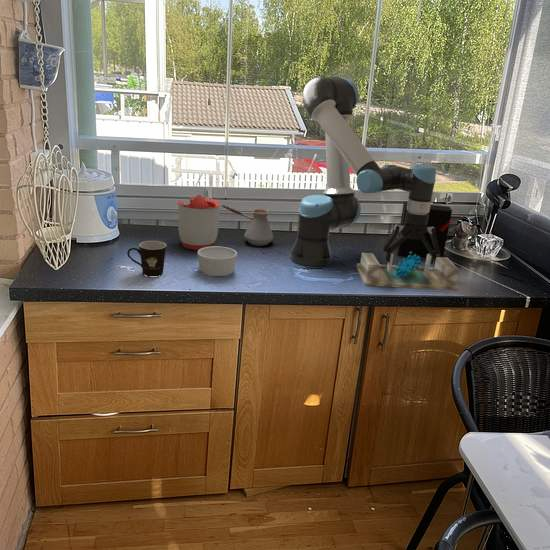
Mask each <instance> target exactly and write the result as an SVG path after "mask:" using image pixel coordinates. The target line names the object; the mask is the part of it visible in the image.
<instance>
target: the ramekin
mask: <svg viewBox="0 0 550 550" xmlns="http://www.w3.org/2000/svg"><path fill="white" fill-rule="evenodd" d="M237 257H238V252H237V251H236V250H235V249H233V248H230V247H225V246H218V245H217V246H216V245H214V246H211V247H205V248H202V249H200V250H198V251H197V259H198V266H199V267H198V268H199V271H200V272H201V273H202V274H203V273H204V274H203V275H205V274H206V275H205V276H207V275H210V276H209V277H212V276H224V277H228V276H230V275H231V274H233V272H234V271H235V266H236V260H237ZM227 275H228V276H227Z"/></svg>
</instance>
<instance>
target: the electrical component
mask: <svg viewBox="0 0 550 550" xmlns="http://www.w3.org/2000/svg"><path fill="white" fill-rule="evenodd" d="M407 204H408V201H407V202H406V201H404V202H403V205H402V211H401V218H400V223H399V226H403V225H404V222H405V216H406V212H407V211H408V210H407ZM428 215H429V217H428V223H427V227H431V226H433V227H434V228H435V229H436V234H435V235H436V238H437V242H438V245H439V249H440V252H441V253H440V254H439V255H438V254H437V255H436V256H435V257H434V260H436V257H444V253H445V249H446V243H447V238H448V233H449V228H450V224H451V223H452V221H451V218H452V215H453V209H452V208H451V207H450V206H448V205H446V206H445V205H437V204H431V206H430V211H429V213H428ZM403 232H404V231H403V230H401V231H400V232H398V234H397V239H398V238H399V237H400V236H401V234H402V233H403ZM424 237H425V238H426V240H427V242H428V243H429V245H430V246H431V248H432V250H433V251H434V250H435V249H434V246H433V243H432V239H431V236H430V233H429V232H428V231H427V232H426V233H425V234H424ZM395 251H396V255H397V257H403V258H408V256H409V255H411V256H412V257H413V255H414V254H416V255H417V257H418V256H420V258H421V259H426V258H427V254H430V253H429V251H428V249H427V248H426V246H425V245H424V243H423V241H422V240H421V238H420V239H418V240H416V239H409V238H408V239H406V240H405V241H404V242H402V243H401V244H400V245H399V246H398V247H397V248H396V249H395Z"/></svg>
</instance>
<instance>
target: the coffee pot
mask: <svg viewBox="0 0 550 550" xmlns="http://www.w3.org/2000/svg"><path fill="white" fill-rule="evenodd" d="M220 206H221V207H220V208H219V211H222V209H223V208H224V209H226V210H228V211H230V212H232V213H234V214H237V215H240V216H243V217H245V218H247V219H249V220H251V221H250V222H249V225H248V227H247V228H246V231H245V232H244V234H243V235H244V239H245V240H246V242H248V243H249V244H250V245H252V246H256V247H262V246H267V245H269V244H270V243H271V242H272V241H273V239H274V235H273V232H272V229H271V226H270V223H269V221H268V218H267V217H268V214H269V211H268V210H266V209H261V208H257V209H253V210H252V211H251V212H252V214H253V217H252V216H249V215H248V214H245V213H243V212H241V211H239V210H237V209H235V208H232V207H230V206H227V205H223V204H222V205H220Z"/></svg>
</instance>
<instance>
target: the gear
mask: <svg viewBox="0 0 550 550" xmlns="http://www.w3.org/2000/svg"><path fill="white" fill-rule="evenodd" d="M421 259H422V258H420V256H418V257H417V255H416V254H414V255H413V257H412V256H411V255H409V256H408V257H403V258H402V259H401V262H402V263H401V262H400V261H399V262H398V263H397V265H398V266H401V267H400V268H398V267H396V269H395V270H396V271H397V272H396V275H397V276H398V275H399V276H400V277H403V275H404V276H405V277H407V276H408V274H411V275H412V277H415V278H416V279H417V281H419V278H418V277H417V276H416V275H417V273H416V272H415V271H414V269H413V268H414V267H415V269H416V270H417V269H418V268H419V267H420V266H419V265H421V264H422V260H421Z"/></svg>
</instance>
